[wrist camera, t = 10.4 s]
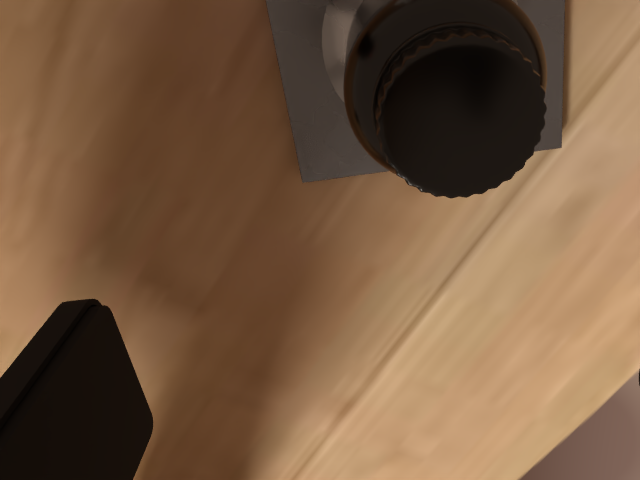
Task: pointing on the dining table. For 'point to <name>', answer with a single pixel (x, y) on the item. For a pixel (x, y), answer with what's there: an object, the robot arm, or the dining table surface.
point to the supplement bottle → (446, 91)
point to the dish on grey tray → (328, 77)
